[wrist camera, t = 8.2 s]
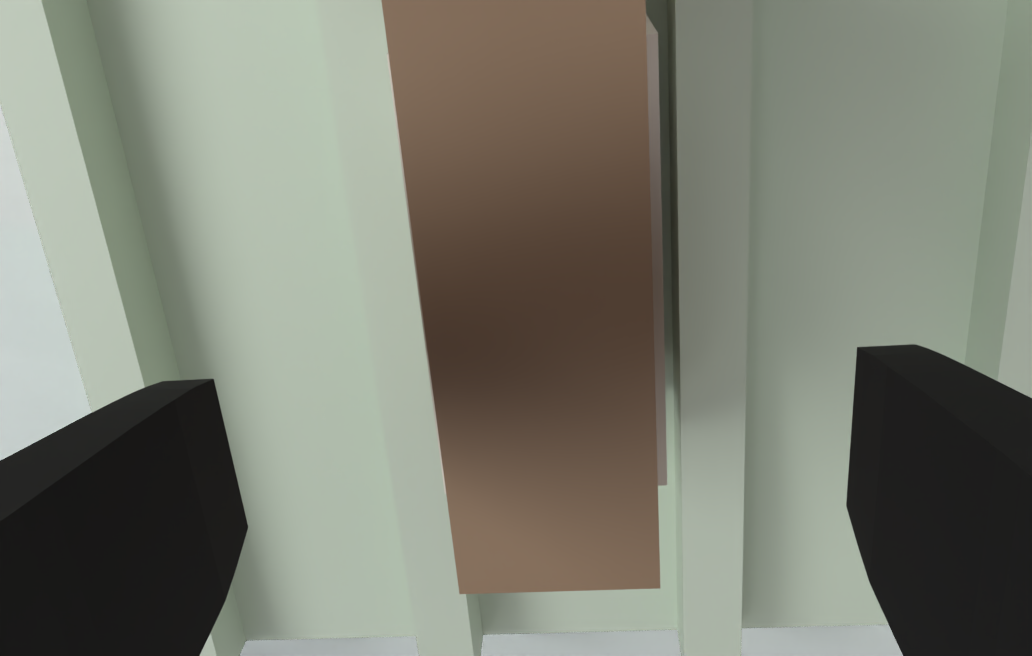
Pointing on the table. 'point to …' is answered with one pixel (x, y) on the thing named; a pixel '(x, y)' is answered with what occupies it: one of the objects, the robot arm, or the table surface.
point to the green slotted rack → (396, 308)
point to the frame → (538, 281)
